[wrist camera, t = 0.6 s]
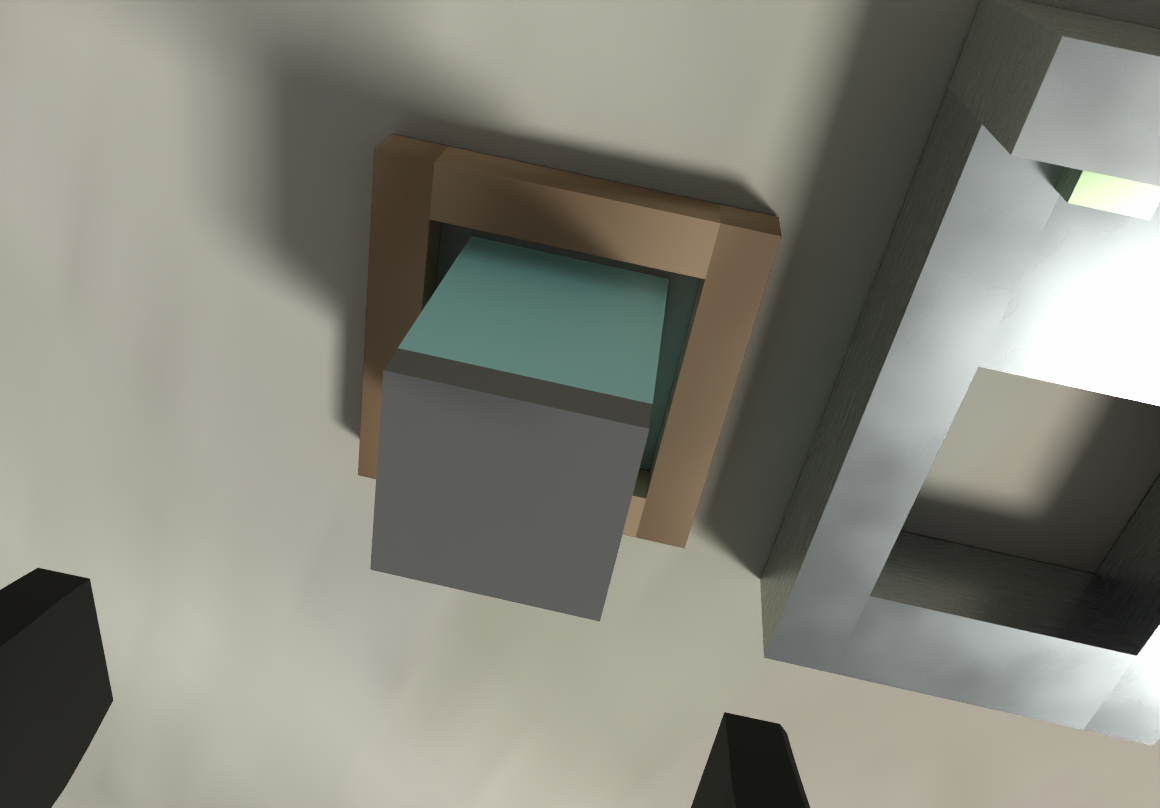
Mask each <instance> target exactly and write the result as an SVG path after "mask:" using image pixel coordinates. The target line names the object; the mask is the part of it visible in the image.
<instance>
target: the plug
mask: <svg viewBox="0 0 1160 808" xmlns="http://www.w3.org/2000/svg"><path fill="white" fill-rule="evenodd" d="M668 282H669V279H667V278H662V277H658V276H653V275H648V274H644V273H639V272H634V271H630V270H625V269H621V268H616V267H611V266H607V265H602V264H598V263H593V262H588V261H584V260H579V259H575V258H570V257H565V256H561V255H556V254H551V253H547V252H542V251H538V250H533V249H528V248H524V247H519V246H515V245H510V244H505V243H501V242H496V241H492V240H487V239H482V238H478V237H473V236H471V237H470V238H469V240H468V242H467V243H466V245H465V246H464V248H463V249H462V251H461V252H460V254H459V255H458V257H457V258H456V260H455V261H454V263H453V264H452V266H451V268H450V269H449V271H448V272H447V274H446V275H445V277H444V278H443V280H442V281H441V283H440V284H439V286H438V287H437V289H436V290H435V292H434V293H433V295H432V297H431V298H430V300H429V301H428V303H427V304H426V306H425V307H424V309H423V310H422V312H421V313H420V315H419V316H418V318H417V319H416V321H415V323H414V324H413V326H412V327H411V329H410V330H409V332H408V333H407V335H406V336H405V338H404V339H403V341H402V342H401V344H400V345H399V347H398V349H397V350H396V352H395V353H394V355H393V356H392V358H391V359H390V361H389V362H388V364H387V365H386V367H385V368H384V370H383V383H382V399H381V414H380V430H379V445H378V461H377V476H376V492H375V507H374V523H373V538H372V554H371V570H375V571H380V572H384V573H388V574H393V575H397V576H402V577H406V578H410V579H415V580H419V581H424V582H428V583H433V584H437V585H441V586H446V587H450V588H455V589H459V590H464V591H468V592H472V593H477V594H481V595H486V596H490V597H494V598H499V599H503V600H508V601H512V602H517V603H521V604H525V605H530V606H534V607H539V608H543V609H548V610H552V611H556V612H561V613H565V614H570V615H574V616H579V617H583V618H587V619H592V620H596V621H600V619H601V615H602V611H603V607H604V603H605V599H606V596H607V592H608V588H609V584H610V580H611V576H612V572H613V569H614V565H615V561H616V557H617V553H618V549H619V545H620V541H621V538H622V534H623V530H624V526H625V522H626V518H627V514H628V511H629V507H630V503H631V499H632V495H633V491H634V487H635V483H636V480H637V476H638V472H639V468H640V464H641V460H642V456H643V453H644V449H645V445H646V441H647V437H648V433H649V429H650V422H651V414H652V407H653V399H654V391H655V383H656V375H657V368H658V360H659V352H660V344H661V337H662V329H663V321H664V313H665V306H666V298H667V290H668Z"/></svg>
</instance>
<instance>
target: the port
mask: <svg viewBox="0 0 1160 808" xmlns="http://www.w3.org/2000/svg"><path fill="white" fill-rule="evenodd" d="M978 366H979V367H983V368H988V369H992V370H997V371H1002V372H1006V373H1011V374H1015V375H1020V376H1025V377H1029V378H1034V379H1038V380H1043V381H1048V382H1052V383H1057V384H1061V385H1066V386H1071V387H1075V388H1080V389H1084V390H1089V391H1094V392H1098V393H1103V394H1107V395H1112V396H1117V397H1121V398H1126V399H1130V400H1135V401H1140V402H1144V403H1149V404H1153V405H1158V406H1160V29H1157V28H1152V27H1147V26H1143V25H1138V24H1133V23H1128V22H1123V21H1119V20H1114V19H1109V18H1104V17H1099V16H1094V15H1090V14H1085V13H1080V12H1075V11H1070V10H1065V9H1061V8H1056V7H1051V6H1046V5H1041V4H1037V3H1032V2H1027V1H1022V0H981V2H980V5H979V8H978V10H977V13H976V15H975V18H974V21H973V23H972V26H971V29H970V31H969V34H968V36H967V39H966V42H965V44H964V47H963V50H962V52H961V55H960V57H959V60H958V63H957V65H956V68H955V71H954V73H953V76H952V79H951V81H950V84H949V86H948V89H947V92H946V94H945V97H944V100H943V102H942V105H941V107H940V110H939V113H938V115H937V118H936V121H935V123H934V126H933V129H932V131H931V134H930V136H929V139H928V142H927V144H926V147H925V150H924V152H923V155H922V157H921V160H920V163H919V165H918V168H917V171H916V173H915V176H914V178H913V181H912V184H911V186H910V189H909V192H908V194H907V197H906V200H905V202H904V205H903V207H902V210H901V213H900V215H899V218H898V221H897V223H896V226H895V228H894V231H893V234H892V236H891V239H890V242H889V244H888V247H887V250H886V252H885V255H884V257H883V260H882V263H881V265H880V268H879V271H878V273H877V276H876V278H875V281H874V284H873V286H872V289H871V292H870V294H869V297H868V300H867V302H866V305H865V307H864V310H863V313H862V315H861V318H860V321H859V323H858V326H857V328H856V331H855V334H854V336H853V339H852V342H851V344H850V347H849V349H848V352H847V355H846V357H845V360H844V363H843V365H842V368H841V371H840V373H839V376H838V378H837V381H836V384H835V386H834V389H833V392H832V394H831V397H830V399H829V402H828V405H827V407H826V410H825V413H824V415H823V418H822V421H821V423H820V426H819V428H818V431H817V434H816V436H815V439H814V442H813V444H812V447H811V449H810V452H809V455H808V457H807V460H806V463H805V465H804V468H803V470H802V473H801V476H800V478H799V481H798V484H797V486H796V489H795V492H794V494H793V497H792V499H791V502H790V505H789V507H788V510H787V513H786V515H785V518H784V520H783V523H782V526H781V528H780V531H779V534H778V536H777V539H776V542H775V544H774V547H773V549H772V552H771V555H770V557H769V560H768V563H767V565H766V568H765V570H764V573H763V576H762V578H761V581H760V583H761V603H762V624H763V645H764V658H768V659H773V660H777V661H782V662H786V663H790V664H795V665H799V666H804V667H808V668H813V669H817V670H821V671H826V672H830V673H835V674H839V675H843V676H848V677H852V678H857V679H861V680H866V681H870V682H874V683H879V684H883V685H888V686H892V687H896V688H901V689H905V690H910V691H914V692H919V693H923V694H927V695H932V696H936V697H941V698H945V699H949V700H954V701H958V702H963V703H967V704H971V705H976V706H980V707H985V708H989V709H994V710H998V711H1002V712H1007V713H1011V714H1016V715H1020V716H1024V717H1029V718H1033V719H1038V720H1042V721H1047V722H1051V723H1055V724H1060V725H1064V726H1069V727H1073V728H1077V729H1082V730H1086V731H1091V732H1095V733H1100V734H1104V735H1108V736H1113V737H1117V738H1122V739H1126V740H1130V741H1135V742H1139V743H1144V744H1148V745H1154V744H1155V743H1156V742H1157V740H1158V739H1159V738H1160V475H1159V477H1158V478H1157V480H1156V482H1155V483H1154V485H1153V486H1152V488H1151V489H1150V491H1149V492H1148V494H1147V495H1146V497H1145V499H1144V500H1143V502H1142V503H1141V505H1140V506H1139V508H1138V509H1137V511H1136V512H1135V514H1134V516H1133V517H1132V519H1131V520H1130V522H1129V523H1128V525H1127V526H1126V528H1125V529H1124V531H1123V533H1122V534H1121V536H1120V537H1119V539H1118V540H1117V542H1116V543H1115V545H1114V546H1113V548H1112V550H1111V551H1110V553H1109V554H1108V556H1107V557H1106V559H1105V560H1104V562H1103V563H1102V565H1101V567H1100V568H1099V570H1098V571H1097V573H1096V574H1091V573H1087V572H1082V571H1078V570H1073V569H1069V568H1064V567H1060V566H1055V565H1051V564H1046V563H1042V562H1037V561H1033V560H1028V559H1024V558H1019V557H1015V556H1010V555H1006V554H1001V553H997V552H992V551H988V550H983V549H979V548H974V547H970V546H965V545H961V544H956V543H952V542H947V541H943V540H938V539H934V538H929V537H925V536H920V535H916V534H911V533H907V532H902V531H901V529H902V527H903V524H904V522H905V520H906V518H907V516H908V514H909V512H910V510H911V508H912V505H913V503H914V501H915V499H916V497H917V495H918V493H919V491H920V489H921V486H922V484H923V482H924V480H925V478H926V476H927V474H928V472H929V470H930V467H931V465H932V463H933V461H934V459H935V457H936V455H937V453H938V451H939V448H940V446H941V444H942V442H943V440H944V438H945V436H946V434H947V432H948V429H949V427H950V425H951V423H952V421H953V419H954V417H955V415H956V413H957V411H958V408H959V406H960V404H961V402H962V400H963V398H964V396H965V394H966V392H967V389H968V387H969V385H970V383H971V381H972V379H973V377H974V375H975V373H976V370H977V368H978Z"/></svg>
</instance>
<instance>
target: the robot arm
mask: <svg viewBox="0 0 1160 808" xmlns="http://www.w3.org/2000/svg"><path fill="white" fill-rule="evenodd" d="M112 702H113V697H112V691H111V686H110V681H109V676H108V671H107V665H106V660H105V655H104V650H103V645H102V639H101V634H100V629H99V624H98V619H97V613H96V608H95V603H94V598H93V593H92V588H91V582H90V579H89V578H84V577H79V576H74V575H70V574H65V573H60V572H55V571H51V570H46V569H41V568H37V569H35V570H33V571H32V572H30V573H28V574H27V575H25V576H23V577H21V578H20V579H18V580H16V581H14V582H13V583H11V584H9V585H8V586H6V587H4V588H3V589H1V590H0V808H51V807H52V806H53V804H54V803H55V801H56V800H57V798H58V797H59V796H60V794H61V793H62V791H63V790H64V788H65V787H66V785H67V783H68V782H69V780H70V778H71V776H72V775H73V773H74V771H75V769H76V768H77V766H78V764H79V762H80V761H81V759H82V757H83V755H84V754H85V752H86V750H87V748H88V747H89V745H90V743H91V741H92V739H93V737H94V735H95V734H96V732H97V730H98V728H99V726H100V724H101V722H102V720H103V718H104V717H105V715H106V713H107V711H108V709H109V707H110V705H111V703H112ZM691 808H810V806H809V803H808V800H807V797H806V794H805V791H804V788H803V785H802V782H801V779H800V776H799V772H798V769H797V766H796V763H795V759H794V756H793V753H792V750H791V746H790V743H789V739H788V736H787V733H786V732H785V730H784V729H783V727H782V726H781V725H780V724H777V723H773V722H768V721H763V720H758V719H754V718H749V717H744V716H739V715H735V714H730V713H725V712H724V715H723V718H722V721H721V724H720V727H719V729H718V732H717V735H716V738H715V741H714V744H713V746H712V749H711V752H710V755H709V758H708V761H707V764H706V766H705V769H704V772H703V775H702V778H701V781H700V783H699V786H698V789H697V792H696V795H695V798H694V800H693V803H692V806H691Z"/></svg>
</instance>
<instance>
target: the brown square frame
mask: <svg viewBox="0 0 1160 808" xmlns="http://www.w3.org/2000/svg"><path fill="white" fill-rule="evenodd" d="M442 222H443V223H448V224H452V225H457V226H461V227H466V228H471V229H475V230H480V231H485V232H489V233H494V234H498V235H503V236H508V237H512V238H517V239H521V240H526V241H531V242H535V243H540V244H545V245H549V246H554V247H558V248H563V249H568V250H572V251H577V252H581V253H586V254H591V255H595V256H600V257H605V258H609V259H614V260H618V261H623V262H628V263H632V264H637V265H641V266H646V267H651V268H655V269H660V270H665V271H669V272H674V273H678V274H683V275H688V276H692V277H697V278H701V280H700V284H699V287H698V291H697V295H696V299H695V302H694V306H693V310H692V314H691V317H690V321H689V325H688V329H687V332H686V336H685V340H684V344H683V347H682V351H681V355H680V359H679V362H678V366H677V370H676V374H675V377H674V381H673V385H672V389H671V392H670V396H669V400H668V404H667V407H666V411H665V415H664V419H663V422H662V426H661V430H660V434H659V437H658V441H657V445H656V449H655V452H654V456H653V460H652V464H651V467H650V471H645V470H640V469H639V472H638V476H637V480H636V483H635V487H634V491H633V495H632V499H631V503H630V507H629V511H628V514H627V518H626V522H625V526H624V530H623V535H628V536H632V537H637V538H641V539H646V540H650V541H654V542H659V543H663V544H668V545H672V546H677V547H681V548H685V545H686V542H687V539H688V536H689V532H690V529H691V526H692V523H693V519H694V516H695V513H696V510H697V507H698V503H699V500H700V497H701V494H702V490H703V487H704V484H705V481H706V478H707V474H708V471H709V468H710V465H711V461H712V458H713V455H714V452H715V449H716V445H717V442H718V439H719V436H720V433H721V429H722V426H723V423H724V420H725V416H726V413H727V410H728V407H729V404H730V400H731V397H732V394H733V391H734V387H735V384H736V381H737V378H738V375H739V371H740V368H741V365H742V362H743V358H744V355H745V352H746V349H747V346H748V342H749V339H750V336H751V333H752V329H753V326H754V323H755V320H756V317H757V313H758V310H759V307H760V304H761V300H762V297H763V294H764V291H765V288H766V284H767V281H768V278H769V275H770V272H771V268H772V265H773V262H774V259H775V255H776V252H777V249H778V246H779V243H780V239H781V230H780V223H779V217H776V216H772V215H767V214H762V213H758V212H753V211H748V210H744V209H739V208H734V207H730V206H725V205H720V204H716V203H711V202H707V201H702V200H697V199H693V198H688V197H683V196H679V195H674V194H669V193H665V192H660V191H655V190H651V189H646V188H641V187H637V186H632V185H627V184H623V183H618V182H613V181H609V180H604V179H599V178H595V177H590V176H585V175H581V174H576V173H571V172H567V171H562V170H557V169H553V168H548V167H543V166H539V165H534V164H529V163H525V162H520V161H515V160H511V159H506V158H501V157H497V156H492V155H487V154H483V153H478V152H473V151H469V150H464V149H460V148H455V147H450V146H446V145H441V144H436V143H432V142H427V141H422V140H418V139H413V138H408V137H404V136H399V135H394V134H391V135H390V136H389V137H388V138H387V139H386V140H384V141H383V142H382V143H381V144H380V145H379V146H377V147H376V148H375V151H374V171H373V191H372V210H371V230H370V250H369V270H368V289H367V309H366V329H365V349H364V368H363V388H362V408H361V428H360V447H359V467H358V475H360V476H364V477H369V478H373V479H376V476H377V461H378V445H379V430H380V414H381V399H382V383H383V370H384V368H385V367H386V365H387V364H388V362H389V361H390V359H391V358H392V356H393V355H394V353H395V352H396V350H397V349H398V347H399V345H400V344H401V342H402V341H403V339H404V338H405V336H406V335H407V333H408V332H409V330H410V329H411V327H412V326H413V324H414V323H415V321H416V319H417V318H418V316H419V315H420V313H421V312H422V310H423V309H424V307H425V306H426V304H427V303H428V301H429V300H430V298H431V297H432V295H433V293H434V292H435V287H436V277H437V266H438V256H439V245H440V235H441V224H442Z"/></svg>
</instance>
